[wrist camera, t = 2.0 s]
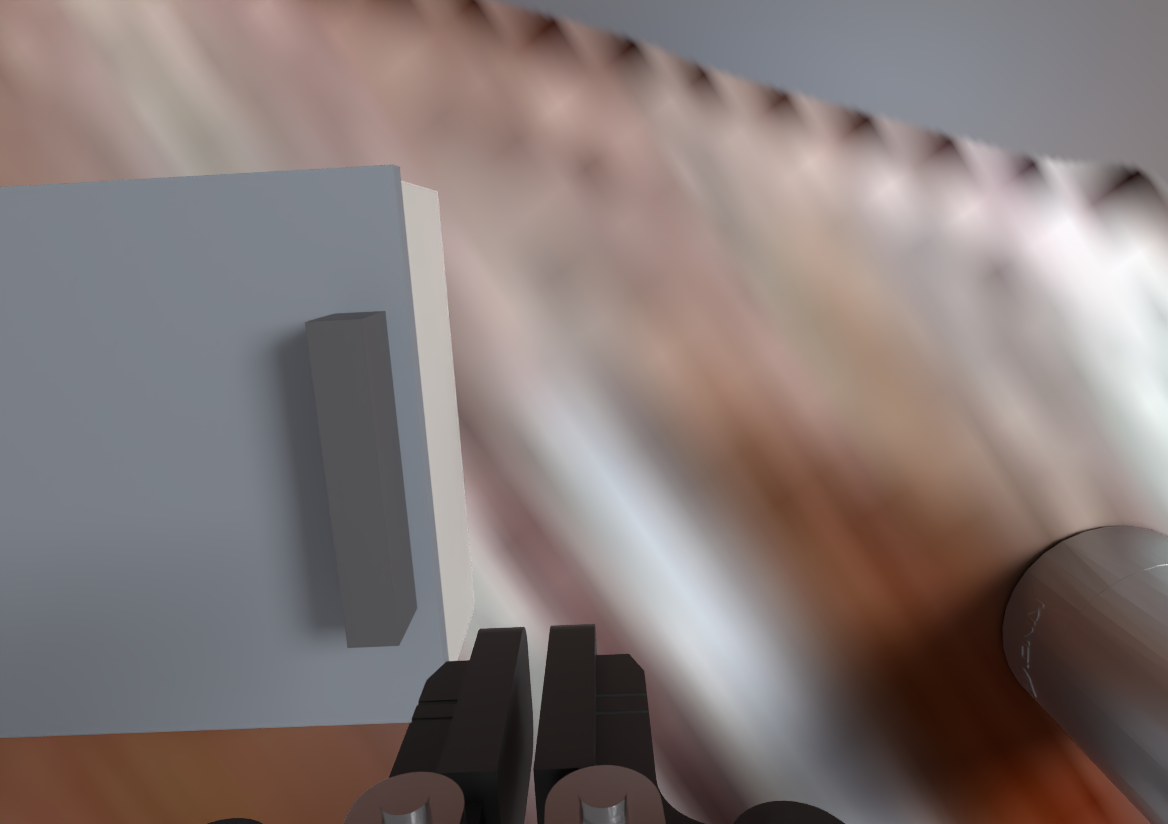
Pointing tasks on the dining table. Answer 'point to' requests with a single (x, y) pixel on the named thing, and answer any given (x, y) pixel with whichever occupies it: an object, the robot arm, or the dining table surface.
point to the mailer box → (440, 408)
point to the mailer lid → (212, 456)
